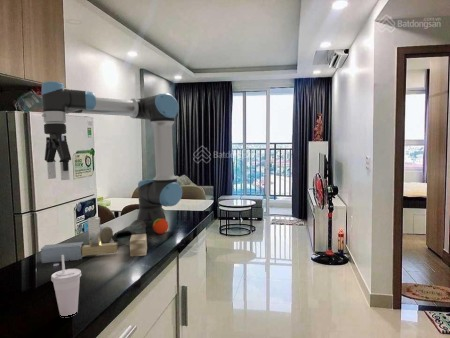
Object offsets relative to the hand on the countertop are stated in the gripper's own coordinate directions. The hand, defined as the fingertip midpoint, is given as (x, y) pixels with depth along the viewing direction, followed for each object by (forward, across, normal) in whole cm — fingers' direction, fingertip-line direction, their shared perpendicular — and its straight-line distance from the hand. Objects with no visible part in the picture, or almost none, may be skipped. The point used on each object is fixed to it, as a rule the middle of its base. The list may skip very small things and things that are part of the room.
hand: (58, 179), depth 129 cm
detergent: (+28, +6, +27) cm, 40 cm away
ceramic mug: (+28, 0, +16) cm, 33 cm away
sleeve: (+28, +11, -4) cm, 30 cm away
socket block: (+28, +26, +18) cm, 42 cm away
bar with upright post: (+27, +15, +2) cm, 31 cm away
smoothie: (+28, +55, -19) cm, 64 cm away
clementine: (+28, +9, +39) cm, 49 cm away
